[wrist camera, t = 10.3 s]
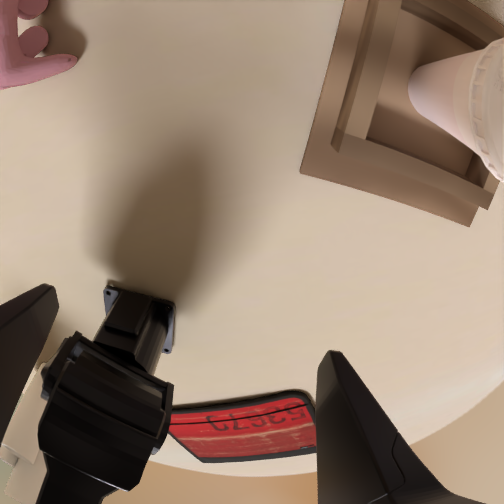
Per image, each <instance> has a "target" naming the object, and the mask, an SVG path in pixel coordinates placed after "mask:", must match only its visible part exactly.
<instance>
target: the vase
mask: <svg viewBox="0 0 504 504" xmlns="http://www.w3.org/2000/svg"><path fill="white" fill-rule="evenodd" d="M45 365H46V362H45V363H42V364H41V366H40V367H39V369H38V371H37V373H36V374H35V376H34V378H33V380H32V381H31V383H30V385H29V387H28V389H27V390H26V392H25V394H24V396H23V398H22V400H21V402H20V404H19V405H18V407H17V410H16V411H15V414H14V415H13V417H12V419H11V421H10V423H9V425H8V428H7V430H6V433H5V435H4V438H3V441H2V443H1V444H2V445H1V447H0V459H2V460H3V461H4V462H6V463H7V464H9V465H10V466H12V467H14V468H13V470H12V473H11V475H10V478H9V481H8V483H7V486H6V489H5V491H4V493H5V494H7V495H8V496H10V497H11V498H13V499H15V500H16V501H18V502H20V503H21V504H35V503H36V500H37V497H38V494H39V492H40V489H41V486H42V483H43V480H44V477H45V475H46V472H47V469H46V465H45V461H44V457H43V452H42V451H41V450H40V449H39V445H38V437H37V433H38V424H39V421H40V419H41V416H42V414H43V411H44V409H45V406H46V404H47V401H45V400H44V399H42V398H41V397H40V395H41V392H42V389H43V388H42V384H43V380H42V377H41V374H40V373H41V370H42V368H43V367H44V366H45Z"/></svg>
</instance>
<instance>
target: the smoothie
mask: <svg viewBox="0 0 504 504" xmlns="http://www.w3.org/2000/svg"><path fill="white" fill-rule="evenodd" d="M408 93H409V98H410V101H411V103H412V105H413V106H414V108H415V109H416V110H417V112H418V113H420V114H421V115H422V116H424V117H425V118H427V119H429V120H430V121H432V122H433V123H435V124H436V125H438V126H439V127H441V128H442V129H444V130H445V131H447V132H448V133H450V134H451V135H452V136H454V137H455V138H457V139H458V140H459V141H461V142H462V143H464V144H465V145H466V146H468V147H469V148H470V149H472V150H473V151H474V152H475V153H476V154H478V155H479V156H480V157H481V159H482V161H483V163H484V165H485V166H486V168H487V169H488V170H489V171H490V172H491V173H492V174H493V175H494V176H495V178H497V179H498V180H500V181H502V182H504V38H501V39H498V40H496V41H493V42H491V43H490V44H489V45H488V46H487V47H486V48H485V49H482V50H478V51H474V52H470V53H466V54H462V55H458V56H454V57H451V58H447V59H443V60H440V61H436V62H433V63H429V64H426V65H423V66H420V67H418V68H417V69H416V70H415V71H414V72H413V73H412V75H411V77H410V79H409V83H408Z"/></svg>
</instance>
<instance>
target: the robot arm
mask: <svg viewBox="0 0 504 504" xmlns="http://www.w3.org/2000/svg"><path fill="white" fill-rule="evenodd" d="M103 293H104V302H105V311H106V317H105V319H104V321H103V322H102V324H101V326H100V328H99V330H98V331H97V333H96V335H95V337H94V339H93V341H90V340H89V339H87V338H86V337H84V336H82V334H81V333H80V332H78V331H76V332H75V333H74V335H73V336H72V337H71V336H70V337H69V338H65V339H64V341H63V342H62V344H61V346H60V347H59V349H58V350H57V352H56V353H55V354H54V356H53V357H52V358H51V359H50V360H49V361H48V362H47V363H46V365H45V366H44V367H43V368H42V370H41V373H40V374H41V377H42V380H43V384H42V388H43V389H42V392H41V395H40V397H41V398H42V399H44V400H45V401H47V404H46V406H45V409H44V411H43V414H42V416H41V419H40V421H39V424H38V433H37V437H38V445H39V449H40V450H41V451H42V452H43V457H44V461H45V465H46V469H47V472H46V475H45V477H44V480H43V483H42V486H41V489H40V492H39V494H38V497H37V500H36V503H35V504H101V503H102V501H103V499H104V497H106V496H108V495H109V494H112V493H113V492H115V491H117V490H118V489H121V490H124V491H127V492H128V491H130V490H131V489H133V488H134V487H135V486H136V485H138V484H139V482H140V479H141V477H142V474H143V471H144V468H145V465H146V463H147V461H148V459H149V457H150V455H151V454H152V455H154V454H156V453H157V452H158V451H159V450H160V448H161V446H162V445H163V443H164V441H165V439H166V436H167V434H168V431H169V427H170V423H171V413H172V402H173V391H174V385H173V384H171V383H169V382H165V381H163V380H161V379H159V378H157V377H155V376H154V373H155V370H156V367H157V364H158V361H159V358H160V355H161V352H162V353H166V354H170V353H171V351H172V345H173V329H174V315H175V305H174V303H172V302H170V301H166V300H162V299H158V298H154V297H150V296H146V295H142V294H138V293H134V292H130V291H127V290H123V289H119V288H115V287H112V286H106V287H105V289H104V291H103ZM168 307H170V308H168ZM58 309H59V303H58V299H57V294H56V289H55V288H54V286H52V285H49V284H41V285H39V286H37V287H35V288H33V289H31V290H29V291H27V292H25V293H23V294H21V295H19V296H17V297H15V298H13V299H12V300H10V301H8V302H6V303H4V304H2V305H0V447H1V443H2V441H3V438H4V435H5V433H6V430H7V428H8V425H9V422H10V420H11V417H12V415H13V412H14V410H15V407H16V405H17V403H18V400H19V398H20V396H21V393H22V391H23V389H24V387H25V385H26V382H27V380H28V378H29V376H30V374H31V372H32V369H33V367H34V365H35V363H36V361H37V359H38V357H39V355H40V353H41V351H42V349H43V347H44V344H45V342H46V340H47V337H48V334H49V332H50V329H51V327H52V325H53V322H54V320H55V317H56V315H57V313H58ZM315 425H316V448H317V480H318V504H485V503H482V502H478V501H474V500H471V499H468V498H465V497H462V496H458V495H456V494H454V493H452V492H450V491H449V490H447V489H446V488H445V487H444V486H443V485H442V484H441V483H440V482H439V481H438V480H437V479H436V478H435V476H434V475H433V474H432V473H431V472H430V471H429V470H428V468H427V467H426V466H425V465H424V464H423V463H422V462H421V461H420V459H419V458H418V457H417V455H416V454H415V453H414V452H413V451H412V449H411V448H410V447H409V445H408V444H407V443H406V441H405V440H404V438H403V437H402V436H401V434H400V433H399V432H398V430H397V429H396V427H395V426H394V424H393V423H392V422H391V420H390V419H389V417H388V416H387V415H386V413H385V412H384V410H383V409H382V408H381V406H380V405H379V403H378V402H377V401H376V399H375V398H374V396H373V395H372V394H371V392H370V391H369V389H368V388H367V387H366V385H365V384H364V382H363V381H362V380H361V378H360V377H359V376H358V374H357V373H356V371H355V370H354V369H353V367H352V366H351V364H350V363H349V362H348V360H347V359H346V358H345V356H344V355H343V353H342V352H340V351H334V350H329V351H327V353H326V355H325V356H324V358H323V360H322V361H321V363H320V365H319V367H318V372H317V389H316V404H315Z"/></svg>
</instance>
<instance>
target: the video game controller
mask: <svg viewBox="0 0 504 504" xmlns="http://www.w3.org/2000/svg"><path fill="white" fill-rule="evenodd" d="M47 5H48V0H0V90H2V89H7V88H10V87H15V86H21V85H26V84H29V83H33V82H36V81H39V80H42V79H45V78H48V77H51V76H53V75H56V74H59V73H61V72H64V71H66V70H68V69H70V68H72V67H73V66H74V65H75V64H76V62H77V57H76V56H74V55H71V54H56V55H50V56H45V57H37V58H34V57H35V56H36V55H37V54H38V53H39V52H41V51H42V50H43V49H44V48H45V47H46V45H47V43H48V33H47V31H46V30H45V29H44V28H43V27H41V26H33V27H30V28H29V29H27V30H26V31H25V32H23V33H22V34H21V35H20V37H19V38H18V26H17V17H19V18H22V19H26V20H30V19H34V18H36V17H37V16H39V15H40V14H41V13H42V12H43V11H44V10H45V9H46V7H47Z"/></svg>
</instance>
